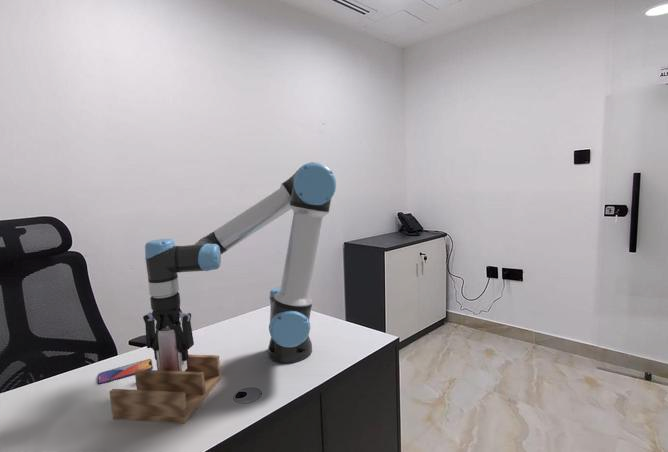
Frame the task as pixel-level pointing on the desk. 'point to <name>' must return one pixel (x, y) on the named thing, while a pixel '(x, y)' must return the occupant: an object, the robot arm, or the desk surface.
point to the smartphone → (124, 371)
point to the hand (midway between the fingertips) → (173, 370)
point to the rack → (167, 392)
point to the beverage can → (168, 349)
